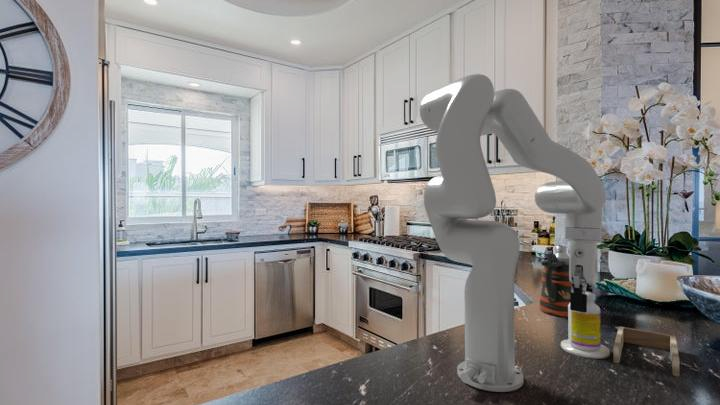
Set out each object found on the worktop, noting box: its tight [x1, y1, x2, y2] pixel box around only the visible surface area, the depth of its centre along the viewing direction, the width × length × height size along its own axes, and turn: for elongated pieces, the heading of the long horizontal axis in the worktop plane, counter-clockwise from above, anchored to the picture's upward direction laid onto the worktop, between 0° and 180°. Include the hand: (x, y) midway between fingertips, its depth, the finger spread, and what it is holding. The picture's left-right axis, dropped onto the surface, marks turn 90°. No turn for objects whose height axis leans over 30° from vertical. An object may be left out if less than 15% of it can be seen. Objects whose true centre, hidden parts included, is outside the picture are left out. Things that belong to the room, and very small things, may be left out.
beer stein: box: [538, 252, 572, 318], centre depth 118 cm, size 19×15×20 cm
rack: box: [612, 326, 680, 377], centre depth 84 cm, size 17×11×4 cm, turn 141°
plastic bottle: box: [554, 245, 569, 259], centre depth 132 cm, size 6×7×20 cm
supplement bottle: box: [567, 292, 602, 351], centre depth 88 cm, size 7×7×13 cm
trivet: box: [560, 338, 611, 360], centre depth 88 cm, size 10×10×1 cm
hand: (581, 307), depth 87 cm, fingers open, 9 cm apart
